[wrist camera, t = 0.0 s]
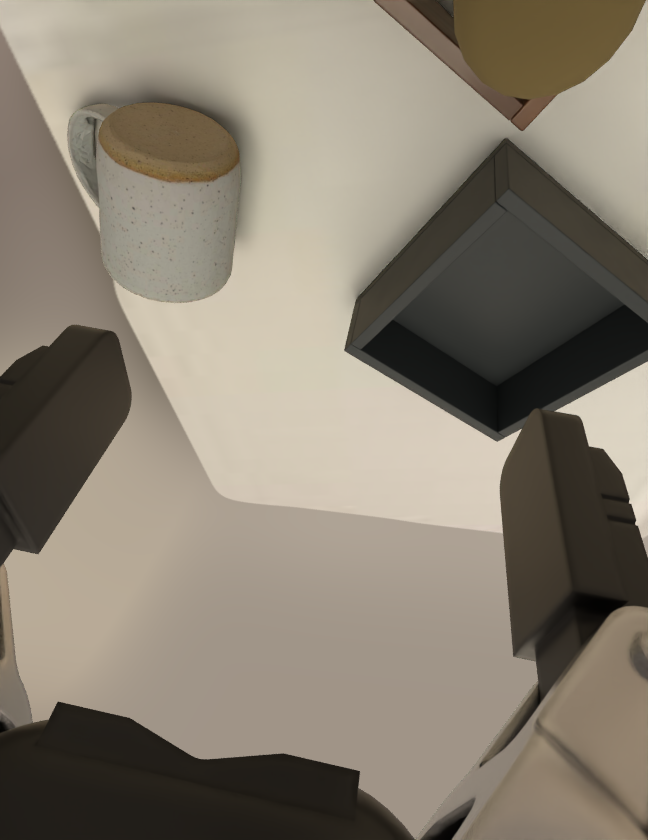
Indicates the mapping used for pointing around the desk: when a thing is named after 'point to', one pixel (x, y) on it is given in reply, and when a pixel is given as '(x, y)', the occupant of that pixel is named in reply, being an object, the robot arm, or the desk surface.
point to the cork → (540, 41)
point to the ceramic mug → (160, 196)
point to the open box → (506, 301)
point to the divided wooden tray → (457, 54)
